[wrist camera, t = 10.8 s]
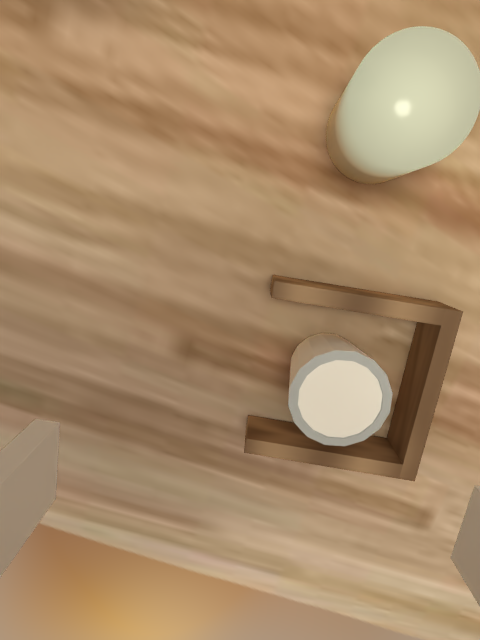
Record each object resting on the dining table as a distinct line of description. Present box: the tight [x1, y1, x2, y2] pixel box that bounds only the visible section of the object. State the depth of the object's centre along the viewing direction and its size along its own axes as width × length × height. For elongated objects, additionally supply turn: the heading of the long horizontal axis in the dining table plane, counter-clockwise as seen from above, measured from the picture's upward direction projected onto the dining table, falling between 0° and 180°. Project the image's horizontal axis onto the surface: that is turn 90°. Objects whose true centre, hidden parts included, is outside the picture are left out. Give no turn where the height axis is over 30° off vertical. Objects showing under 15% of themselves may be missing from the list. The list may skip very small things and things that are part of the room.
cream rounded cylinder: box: [326, 26, 480, 184], centre depth 26 cm, size 7×7×8 cm
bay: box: [244, 275, 463, 481], centre depth 32 cm, size 13×13×4 cm
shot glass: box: [288, 333, 393, 446], centre depth 30 cm, size 7×7×7 cm
